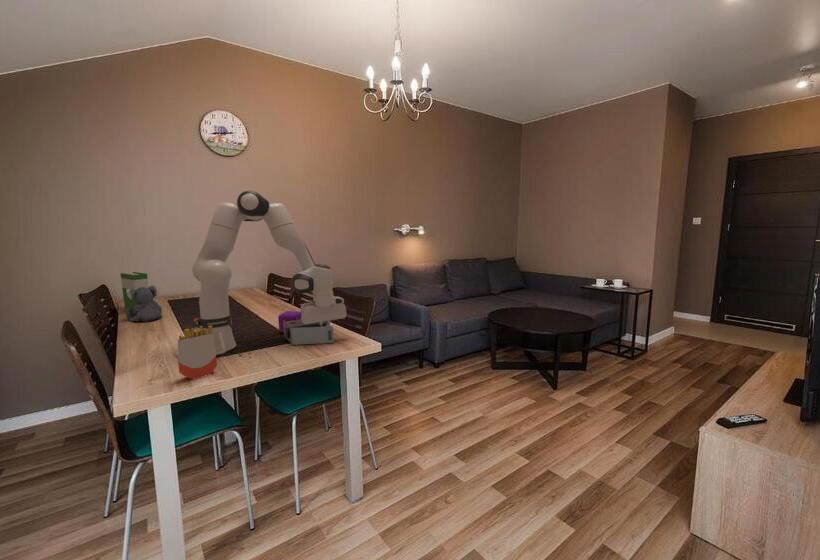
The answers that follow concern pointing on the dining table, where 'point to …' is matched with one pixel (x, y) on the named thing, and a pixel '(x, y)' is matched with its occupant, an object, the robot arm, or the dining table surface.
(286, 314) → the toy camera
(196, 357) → the french fries container
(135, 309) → the koala plush
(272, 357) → the dining table surface
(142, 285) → the green and white box
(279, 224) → the robot arm
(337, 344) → the dining table surface
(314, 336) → the side door
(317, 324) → the camera housing
